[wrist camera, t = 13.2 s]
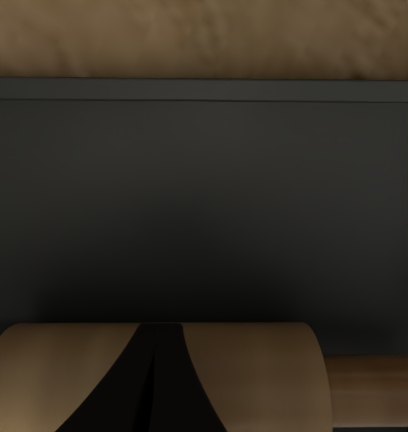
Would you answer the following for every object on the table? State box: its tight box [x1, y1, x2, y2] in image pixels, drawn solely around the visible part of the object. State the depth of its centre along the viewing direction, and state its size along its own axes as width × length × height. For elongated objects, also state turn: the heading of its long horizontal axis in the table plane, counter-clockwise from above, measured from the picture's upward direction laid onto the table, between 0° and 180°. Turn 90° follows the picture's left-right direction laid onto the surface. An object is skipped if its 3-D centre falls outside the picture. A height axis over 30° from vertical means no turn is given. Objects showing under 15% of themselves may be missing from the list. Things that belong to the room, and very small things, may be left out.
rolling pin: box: [0, 322, 408, 432], centre depth 12 cm, size 18×4×4 cm, turn 90°
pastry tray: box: [0, 77, 408, 432], centre depth 13 cm, size 21×15×2 cm
